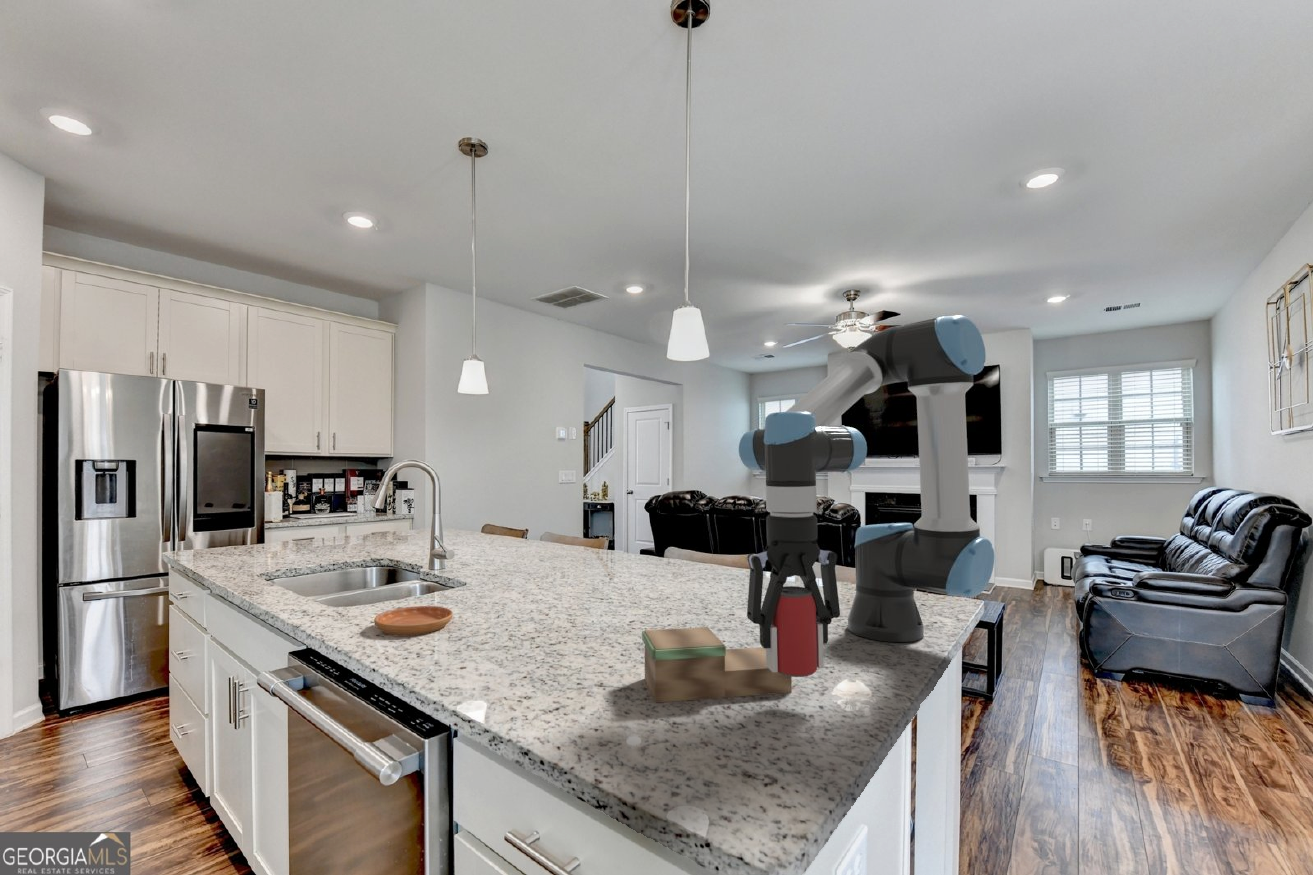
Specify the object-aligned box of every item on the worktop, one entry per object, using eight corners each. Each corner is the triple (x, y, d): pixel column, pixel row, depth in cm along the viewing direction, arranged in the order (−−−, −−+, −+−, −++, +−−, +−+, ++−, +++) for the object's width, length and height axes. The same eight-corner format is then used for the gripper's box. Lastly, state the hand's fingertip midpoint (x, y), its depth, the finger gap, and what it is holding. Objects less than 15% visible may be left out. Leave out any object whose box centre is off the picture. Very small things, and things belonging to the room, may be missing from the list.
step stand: (768, 670, 103) (768, 623, 103) (792, 693, 93) (792, 642, 93) (642, 678, 99) (642, 630, 99) (652, 704, 88) (653, 650, 89)
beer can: (788, 659, 93) (786, 583, 93) (825, 669, 88) (823, 589, 88) (763, 670, 88) (762, 590, 89) (802, 682, 84) (800, 598, 84)
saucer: (466, 620, 135) (466, 607, 135) (423, 641, 119) (424, 627, 119) (405, 616, 139) (405, 603, 139) (356, 636, 123) (357, 621, 123)
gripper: (838, 509, 94) (842, 653, 94) (722, 513, 91) (724, 663, 90) (863, 513, 87) (867, 670, 86) (737, 518, 83) (740, 682, 83)
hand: (794, 666), depth 88 cm, fingers closed on beer can, 7 cm apart
